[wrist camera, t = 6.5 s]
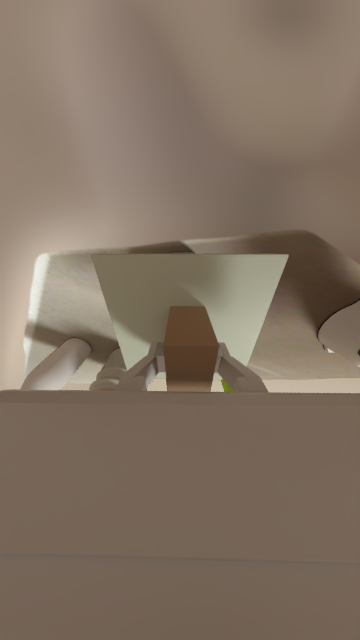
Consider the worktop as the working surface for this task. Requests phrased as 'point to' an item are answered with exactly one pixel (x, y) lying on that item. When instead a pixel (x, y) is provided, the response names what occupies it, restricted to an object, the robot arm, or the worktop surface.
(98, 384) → the jar
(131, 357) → the cover
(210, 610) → the robot arm
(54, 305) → the worktop surface
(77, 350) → the milk bottle
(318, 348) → the worktop surface
